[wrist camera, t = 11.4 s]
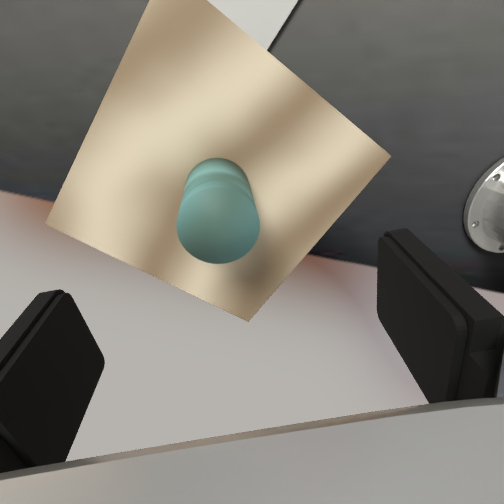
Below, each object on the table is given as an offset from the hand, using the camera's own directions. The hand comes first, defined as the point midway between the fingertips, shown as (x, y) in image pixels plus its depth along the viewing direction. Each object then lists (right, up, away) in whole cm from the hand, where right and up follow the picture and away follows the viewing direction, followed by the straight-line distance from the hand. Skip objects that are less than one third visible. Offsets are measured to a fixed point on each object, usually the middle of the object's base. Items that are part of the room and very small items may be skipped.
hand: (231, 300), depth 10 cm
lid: (-1, +5, +10) cm, 11 cm away
